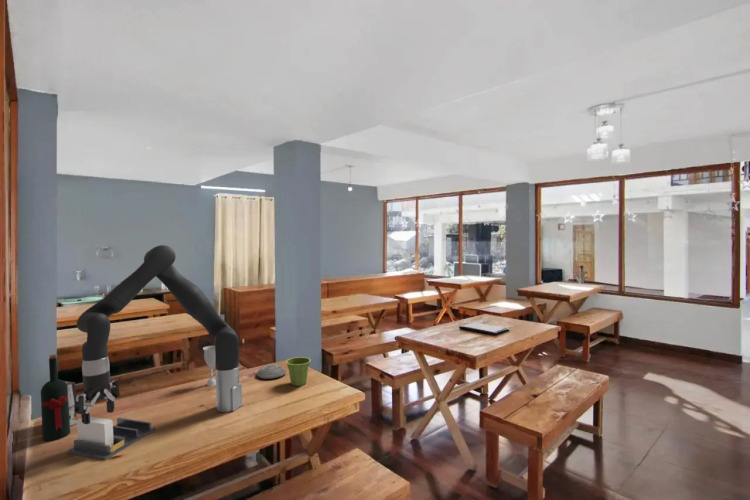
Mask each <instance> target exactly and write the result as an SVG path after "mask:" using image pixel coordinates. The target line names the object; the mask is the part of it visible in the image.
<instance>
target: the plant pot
mask: <svg viewBox="0 0 750 500" xmlns="http://www.w3.org/2000/svg"><path fill="white" fill-rule="evenodd" d="M311 361H312V360H311V358H309V357H305V356H304V357H302V356H301V357H300V356H298V357H292V358H288V359H287V360H286V361H285V363H286V365H287V369H288V374H289V379H290V384H291V385H292V386H296V387H302V386H304V385H306V384H307V380H308V373H309V367H310V362H311Z"/></svg>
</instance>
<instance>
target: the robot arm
mask: <svg viewBox="0 0 750 500" xmlns="http://www.w3.org/2000/svg"><path fill="white" fill-rule="evenodd" d="M176 257H177V256H176V252H175V251H174V249H173V248H172V247H171V246H168V245H164V244H163V245H162V244H160V245H156V246H155V247H152V248H151V249H150V250H148V251H147V252H146V253H145V255H144V257H143V262H142V263H141V265H140V266H139V267H137V268H136V269H135V271H134V272H132V273H131V274H129V275H128V276H127V277H126V278H125V279H123V280H122V281H121V282H120V283H118V284H117V285H116V286H115V287H114V288H113V289H111V291H110V292H109V293H107V294H106V295H105V296H104V297H103V298H102V299H101V300H100V301H98V302H96V303H95V304H93V305H92V306H90V307H89V308H87V309H86V310H85V311H84V312H82V313H81V315H79V317H78V318H77V319H76V320H77V321H76V327H77V329H78V330H79V331H80V332H83V333H85V334H87V335H86V341H84V342H83V343H82V347H81V353H82V354H81V357H82V362H81V363H82V364H81V373H82V387H83V388H84V391H83V393H82V394H81V393H80V394H75V397H74V413H76V415H80V416H81V417H80V418H82V423H83V424H89V423H90V417H91V414H90V412H91V409H92V407H94V405H95V404H96V403H97V402H99V401H102V400H104V399H105V400H106V412H107V413H111V414H112V413H114V411H115V400H116V399H117V398H119V397H120V396H121V395H120V394H121V393H120V387H119V385H120V384H119V381H118V380H111V372H110V371H111V370H110V367H111V366H110V360H109V352H108V351H109V350H108V343H109V336H110V332H111V321H110V318H109V317H111V316H112V315H115V314H119V313H121V311H122V310H124V309H125V308H126V307H127V306H128V304H129V303H130V302H131V301H133V299H135V297H137V295H138V294H139V293H140V292H141V291H142V290H143V289H144V288H145V287H146V286H147V285H148V284H149V283H150V282H151V281H152V280H153V279H155V278H157V279H158V280H159V281H160V282H161V283H162V284H163V285H164V286H165V287H166V289H168V291H169V292H170V293H171V295H172V296H173V297H174V298H175V299H176V301H177V302H178V303H179V305H181V307H182V308H183V309H184V311H186V313H187V314H188V315H190V317H192V318H193V319H194V320H195V321H197V322H198V323H199V324H200V325H201V326H203V328H204V329H205V330H206V331H207V332H208V334H209V335H210V337H211V338H212V340H213V342H214V346H215V365H214V367H215V368H214V369H215V379H216V385H215V395H216V396H215V399H216V411H218V412H222V413H228V412H229V413H230V412H235V411H237V409H239V408H240V407H242V406H243V395H242V394H243V392H242V391H243V390H242V389H243V388H242V383H241V382H240V340H239V339H240V338H239V336H238V334H237V332H236V330H234V329H233V328H232V327H231V326H230V325H229V324H228V323H227V322H226V321H225V320H224V319H223V318H222V317H221V315H219V313H218V312H217V310H216V309H215V307H214V306H213V304H212V302H211V301H210V300H209V298H208V297H207V295H205V293H204V292H203V291H202V290H201V289H200V287H199V286H198V285H196V284H195V283H193V282H191V280H189V279H187V278H186V277H185V276H183V275H182V274H181V273H180V272H179V271H178V270H177V268H176V267H175V266H174V263H175V260H176ZM109 390H110V391H109Z"/></svg>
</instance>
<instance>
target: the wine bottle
mask: <svg viewBox="0 0 750 500" xmlns="http://www.w3.org/2000/svg"><path fill="white" fill-rule="evenodd" d="M57 359H58V357H57V354H56V353H53V354H52V353H51V354H49V358H48V366H49V370H48V371H49V380H48V381H47V382H46V383H44V384H43V387H42V386H41V389H40V405H41V429H42V431H41V432H42V441H45V442H53V441H58V440H61V439H63V438H66V437H68V436H69V435H70V434H71V426H70V419H69V402H68V386H67V383H66V382H65V381H66V380H64V379H63V380H62V379H60V378H59V377H58V376H59V375H58V360H57Z"/></svg>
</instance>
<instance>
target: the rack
mask: <svg viewBox="0 0 750 500" xmlns="http://www.w3.org/2000/svg"><path fill="white" fill-rule="evenodd" d="M151 423H152V422H151V421H143V420H137V419H132V418H131V419H130V418H123V417H117V418H116V425H113V440H114V446H112V447H111V448H110V445H105V444H99V443H93V442H87V441H82V440H78V439H75V440H73V447H72V448H69V449H68V454H72V455H78V456H83V457H88V458H92V459H98V460H99V459H100V460H105V461H106V460H107V459H109V458H111V457H113V456H114V455H116V454H118V453H119V452H121V451H123V450H124V449H126V448H128V447H129V446H131V445H133V444H134V443H136V442H137V441H139V440H141V439H142V438H144V437H146V436H147V435H149V434H150V433H152V432H154V431H156V427H155V426H152V424H151Z"/></svg>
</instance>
